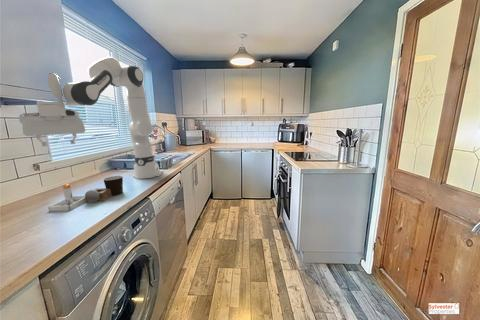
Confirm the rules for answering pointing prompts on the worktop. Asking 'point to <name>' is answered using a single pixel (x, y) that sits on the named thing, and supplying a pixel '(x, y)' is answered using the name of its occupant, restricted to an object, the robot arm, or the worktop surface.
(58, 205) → the parts tray
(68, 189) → the lock pin
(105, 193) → the tensioner block
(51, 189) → the worktop surface
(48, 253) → the worktop surface
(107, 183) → the coffee mug
